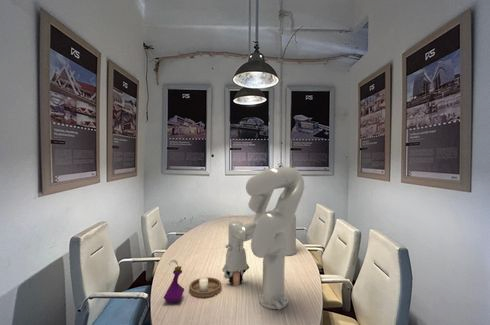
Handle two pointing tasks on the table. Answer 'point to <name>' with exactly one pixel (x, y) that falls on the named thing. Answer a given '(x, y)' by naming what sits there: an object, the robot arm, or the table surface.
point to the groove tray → (213, 288)
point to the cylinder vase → (291, 238)
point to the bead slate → (226, 274)
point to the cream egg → (203, 284)
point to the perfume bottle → (174, 287)
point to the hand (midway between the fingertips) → (235, 282)
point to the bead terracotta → (236, 278)
